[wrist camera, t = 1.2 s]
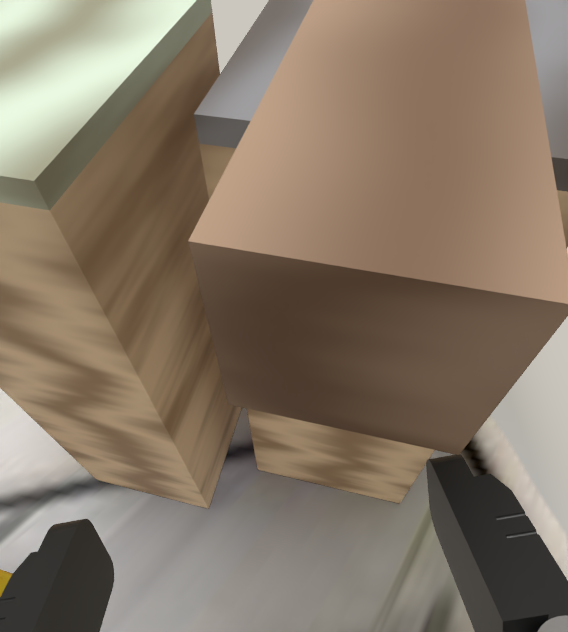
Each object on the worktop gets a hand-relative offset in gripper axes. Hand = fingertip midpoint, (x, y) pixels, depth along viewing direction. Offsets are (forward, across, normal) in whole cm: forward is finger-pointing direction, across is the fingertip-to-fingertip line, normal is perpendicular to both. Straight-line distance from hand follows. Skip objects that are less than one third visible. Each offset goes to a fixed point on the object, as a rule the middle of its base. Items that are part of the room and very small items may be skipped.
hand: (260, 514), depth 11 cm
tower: (+27, +11, +16) cm, 33 cm away
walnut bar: (+9, -6, -8) cm, 13 cm away
